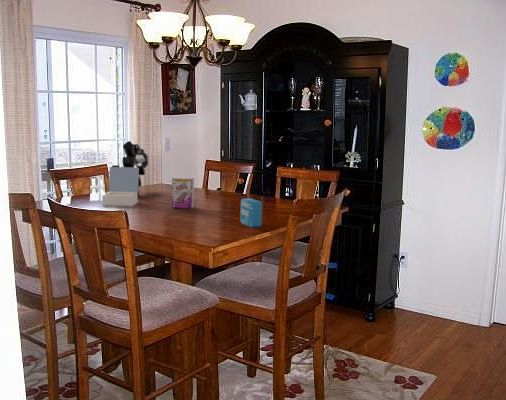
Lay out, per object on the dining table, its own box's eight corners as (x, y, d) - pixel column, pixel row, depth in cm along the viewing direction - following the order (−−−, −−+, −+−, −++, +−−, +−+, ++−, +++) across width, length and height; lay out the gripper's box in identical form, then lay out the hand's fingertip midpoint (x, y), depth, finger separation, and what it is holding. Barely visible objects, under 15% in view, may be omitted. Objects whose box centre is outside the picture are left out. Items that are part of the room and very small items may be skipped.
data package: (240, 223, 252) (240, 198, 250) (248, 222, 255) (248, 197, 253) (253, 228, 242) (253, 202, 240) (261, 227, 244) (262, 201, 243)
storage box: (109, 201, 302) (109, 191, 301) (137, 202, 302) (137, 192, 301) (102, 206, 288) (102, 195, 287) (131, 206, 288) (131, 195, 287)
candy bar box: (171, 208, 287) (171, 178, 284) (173, 206, 292) (173, 177, 289) (191, 209, 286) (192, 179, 283) (193, 207, 291) (194, 177, 288)
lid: (109, 191, 301) (109, 191, 302) (137, 192, 301) (138, 192, 302) (109, 166, 301) (110, 167, 302) (138, 167, 301) (138, 167, 302)
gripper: (111, 151, 309) (106, 172, 300) (143, 152, 309) (139, 173, 300) (115, 163, 318) (111, 184, 309) (146, 164, 318) (142, 185, 309)
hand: (126, 181), depth 306 cm, fingers closed
